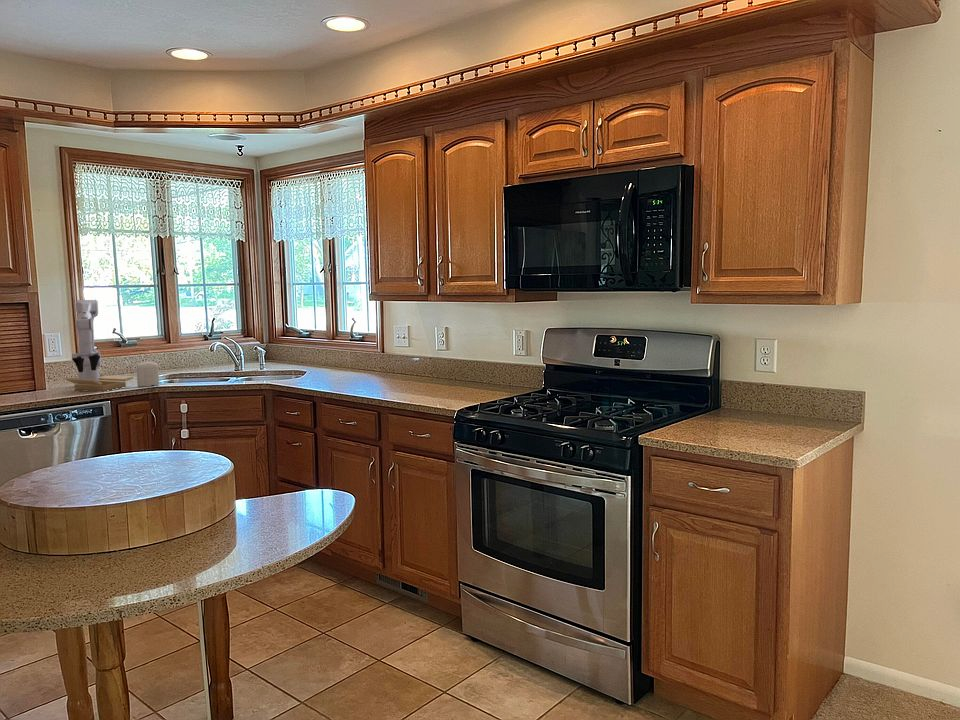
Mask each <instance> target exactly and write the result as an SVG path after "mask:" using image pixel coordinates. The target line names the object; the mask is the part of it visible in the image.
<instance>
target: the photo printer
mask: <svg viewBox="0 0 960 720" xmlns="http://www.w3.org/2000/svg"><path fill="white" fill-rule="evenodd" d="M136 365H137V366H136V373H137V374H136V379H137V380H136V381H137V387H138V386H143V387H148V386H147V385H158V384H159V385H160V373H159V371H160V370H159V364H158V363H157V362H154V361H146V362H145V361H144V362H140V363H137V364H136Z"/></svg>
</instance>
